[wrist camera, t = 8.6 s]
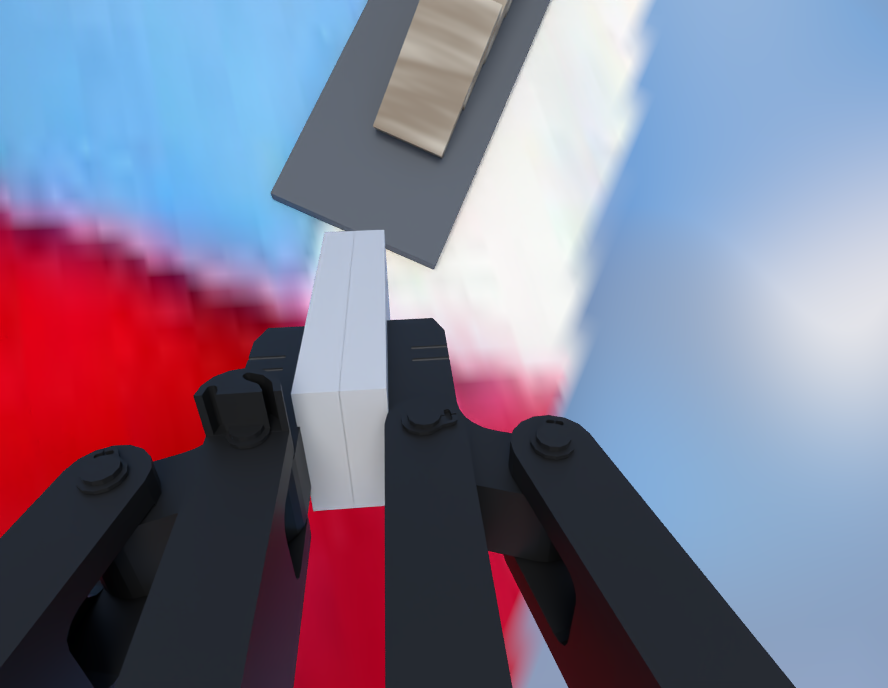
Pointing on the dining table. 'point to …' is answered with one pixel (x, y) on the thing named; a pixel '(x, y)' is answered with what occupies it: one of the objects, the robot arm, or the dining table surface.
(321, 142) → the mat
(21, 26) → the dining table surface
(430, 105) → the domino
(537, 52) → the dining table surface
